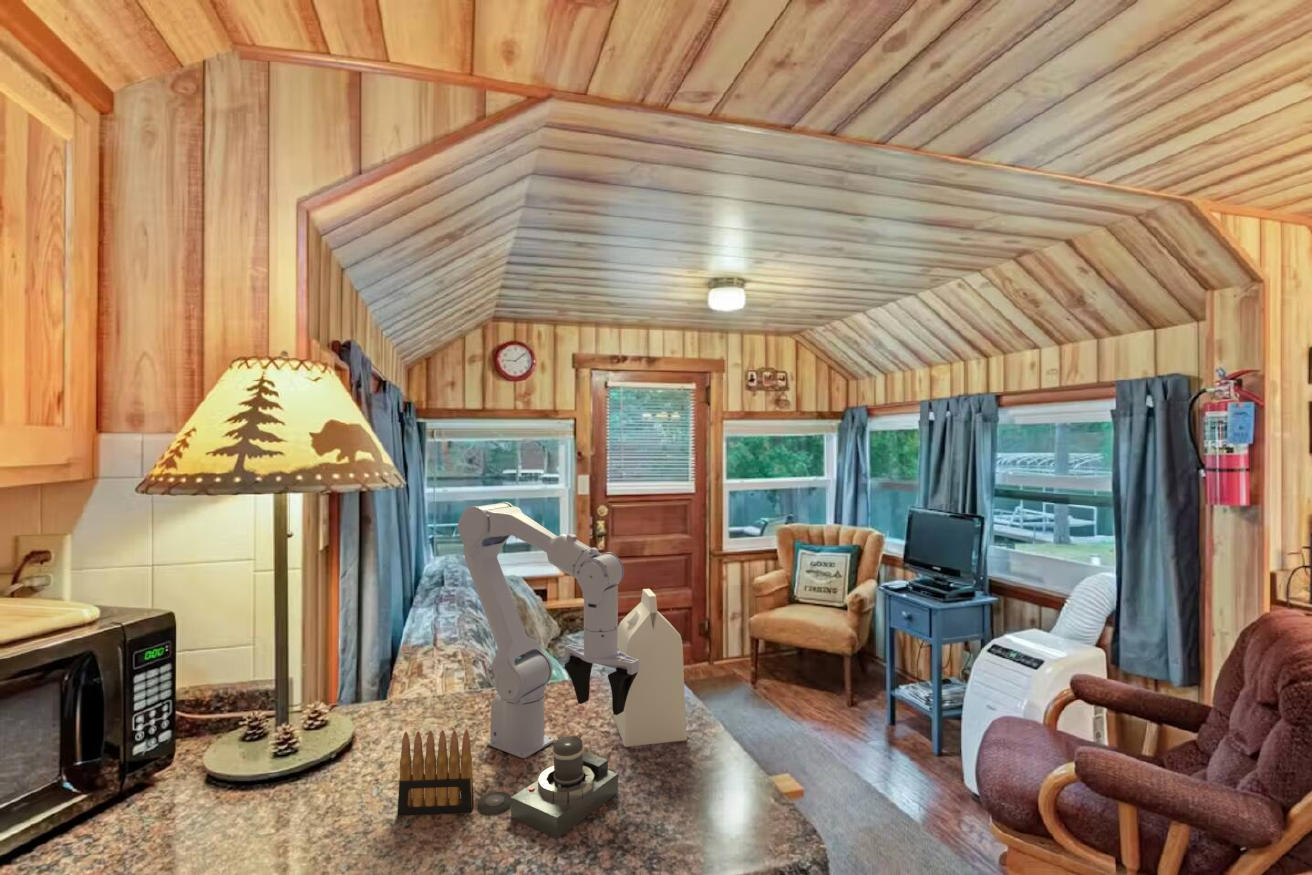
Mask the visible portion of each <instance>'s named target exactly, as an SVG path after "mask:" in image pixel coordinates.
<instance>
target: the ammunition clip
mask: <svg viewBox="0 0 1312 875" xmlns="http://www.w3.org/2000/svg"><path fill="white" fill-rule="evenodd" d="M461 742H462V746H461V747H462V748H461V756H460V748H459V746H460V745H459V738H458V733H457V731H456V730H455V729H454V730H453V731H452V734H451V737H450V748H449V756H448V748H447V747H448V746H447V737H446V733H445V731H444V730H441V731H440V734H439V738H438V747H437V756H436V749H435V746H436V743H435V737H434V734H433V732H432V730H429V731H428V734H427V738H426V745H425V746H426V747H425V759H424V753H423V752H424V751H423V740H422V734H421V732H420V731H419V730H418V731H417V732H416V734H415V737H414V742H413V743H414V744H413V754H412V755H411V741H410V737H409V733H408V732H407V731H405V732H404V733H403V737H402V741H401V753H400V761H399V781H398V797H397V798H398V799H397V800H398V801H397V817H409V816H410V817H411V816H412V817H413V816H433V815H435V816H436V815H453V814H454V815H456V814H458V815H459V814H471V813H473V812H472V811H473V809H474V806H475V800H474V781H473V780H474V779H473V758H472V756H473V755H472V748H471V737H470V733H469V730H468V729H465V731H464V733H463V736H462V741H461ZM412 756H413V757H412Z"/></svg>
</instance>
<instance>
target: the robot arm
mask: <svg viewBox="0 0 1312 875" xmlns="http://www.w3.org/2000/svg"><path fill="white" fill-rule="evenodd" d="M456 529H457V531H458V534H459V536H460V539H461V542H462V544H463V552H464V554H463V556H464V559H465V563H466V566H467V568H468V571H469V574H470V577H471V579H472V582H473V585H474V587H475V591H476V594H477V596H478V598H479V599H478V600H479V601H480V603H481V607H482V610H483V612H484V615H485V617H486V619H487V622H488V625H489V628H490V630H491V634H492V637H493V639H494V641H495V644H496V646H497V650H496V651H497V652H496V653H495V656H494V658H493V660H492V662H491V669H492V671H493V678H494V679H493V680H494V682H493V683H494V688H495V690H496V695H495V696H494V698H493V700H492V702H491V706H490V739H489V740H488V741H486V745H488V746H490V747H492V748H495V749H498V750H500V751H503V752H505V753H507V754H509V755H513V756H515V757H518V758H520V759H526V758H528V757H530V756H532V755H533V754H535V753H537V752H538V751H541V750H542V749H545V747H547V746H549V745H551V744H553V743H554V742H555V738H554V737H552V736H548V735H546V734H545V692H546V691H547V684H548V683H549V682H550V681H551V679H552V676H553V671H554V670H553V665H552V662H551V660H550V658H549V657H548V656H547V654H545V652H544V651H543V649H542V646H541V644H540V643H539V642H538V641H536V640H535V639H534V638H533V639H532V638H531V637H529V636H528V635H527V632H526V629H525V627H524V625H523V622H522V620H521V619H522V618H521V617H520V615H519V611H518V609H517V607H516V606H517V605H516V604H515V601H514V599H513V596H512V593H511V591H510V588H509V585H508V582H507V579H506V578H505V575H504V573H503V569H502V568H501V565H500V562H499V559H498V555H499V554H500V551H501V549H502V547H503V546H504V545H505V544H506V542H507V541H508V540H509V538H510V537H511V536H513V537H514V538H516V539H519V540H521V541H522V542H525V543H527V544H529V545H530V546H533V547H534V548H537V549H539V550H540V551H542V552H544V553H546V556H547V560H548V562H549V563H550V564H552V565H553V566H554V567H556V568H558V569H560V570H561V571H563V572H565V573H567V574H568V575H569V576H571V577H573V578H574V579H576V581H577V583H578V586H579V588H580V589H581V592H582V599H583V645H582V644H575V643H570V644H567V645H566V646H564V658H566V659H569V660H568V661H566V662H565V663H564V669H565V671H566V672H567V675H568V676H569V678H570V680H571V682H572V686H573V689H574V692H575V696H576V700H577V704H579V705H582V704H584V703H586V702H588V701H589V699H590V692H591V691H590V687H591V686H590V684H591V674H592V668H593V665H594V664H595V665H599V666H604V667H607V668H611V669H615V671H612V672H611V673H609V674H607V679H608V681H609V685H610V691H611V701H612V702H611V703H612V707H611V708H612V713H613V714H612V715H613V716H614V715H618V714H620V713H622V712H623V711H624V707H625V703H626V699H627V695H628V692H629V690H630V687H631V685H632V683H633V681H634V679H635V677H636V675H637V673H638V671H639V660H638V659H635V658H632V657H630V656H628V655H626V654H624V653H622V652H620V651H619V648H618V626H619V624H618V623H619V620H618V619H619V617H618V616H619V611H618V610H619V588H618V587H619V584H620V583H621V582H622V580H623V579H624V575H625V567H624V564H623V562H622V560H621V559H620V558H619V557H618V556H617V555H616V554H615V553H613V552H609V551H607V552H603V553H600V552H599V551H600V549H599V548H597V547H590V546H589V545H587V544H585V543H583V542H582V541H580V540H579V539H578V536H577V535H576V534H575V533H570V534H567V533H562V534H560V535H556V534H555V533H553V532H551V530H549V529H547V528H546V527H544V526H543V525H541V524H540V523H539V522H537V521H535V520H533V519H532V518H531V517H529V515H528V516H527V515H526V514H525V513H523V511H522V509H521V508H520V507H518V506H516V505H513V503H511V502H507V501H500V502H497V503H491V504H486V505H485V504H484V505H472V506H469V507H467V508H465V509H464V510H463V512H462V514H461V516H460V519H459V521H458V523H457V526H456ZM518 657H519V658H518ZM517 658H518V659H517Z"/></svg>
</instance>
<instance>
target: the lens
mask: <svg viewBox="0 0 1312 875" xmlns="http://www.w3.org/2000/svg"><path fill="white" fill-rule="evenodd" d="M583 751H584V745H583V740H582V739H581V738H580V737H577V736H572V735H571V736H570V735H569V736H562V737H560V738H558V739H556V740H554V742H553V743H552V756H553V766H554V781H555V787H561V788H569V787H573V786H577V785H579V784H580V783H582V782H583V781H584V769H583Z"/></svg>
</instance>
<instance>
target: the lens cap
mask: <svg viewBox="0 0 1312 875" xmlns="http://www.w3.org/2000/svg"><path fill="white" fill-rule="evenodd" d="M511 797H512V796H511V795H510V793H507V792H505V791H492V792H489V793H486V794H484V795H482V796H480V798H479V799H478V800H477V809H478V812H480V813H482V814H484V815H498V814H501V813H503V812H506V811H507V810H509V809H511Z"/></svg>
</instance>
